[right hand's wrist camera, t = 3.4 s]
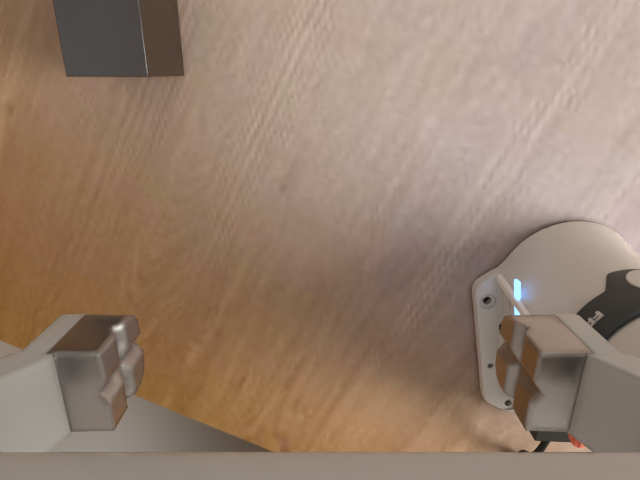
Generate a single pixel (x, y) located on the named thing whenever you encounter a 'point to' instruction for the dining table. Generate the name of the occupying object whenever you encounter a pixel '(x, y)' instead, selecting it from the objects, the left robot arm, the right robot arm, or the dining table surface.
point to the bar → (119, 37)
